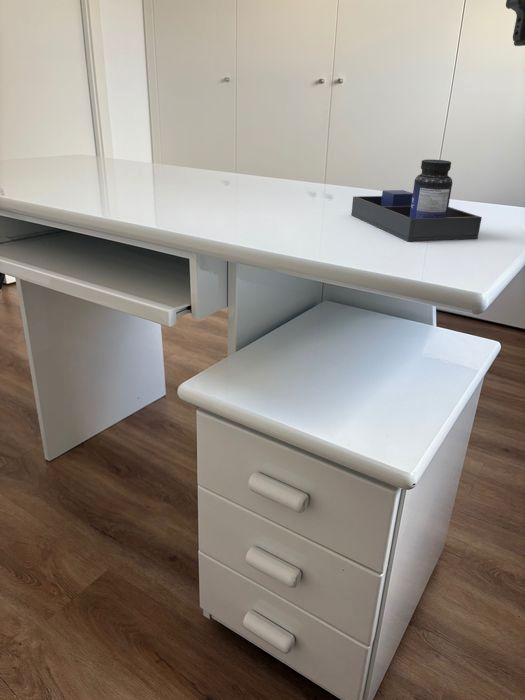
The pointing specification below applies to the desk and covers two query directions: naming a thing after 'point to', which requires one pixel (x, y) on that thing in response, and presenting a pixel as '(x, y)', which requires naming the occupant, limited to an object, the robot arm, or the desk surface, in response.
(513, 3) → the robot arm
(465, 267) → the desk surface
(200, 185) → the desk surface
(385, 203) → the navy block
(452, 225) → the sorting tray
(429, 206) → the pill bottle
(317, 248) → the desk surface
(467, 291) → the desk surface
